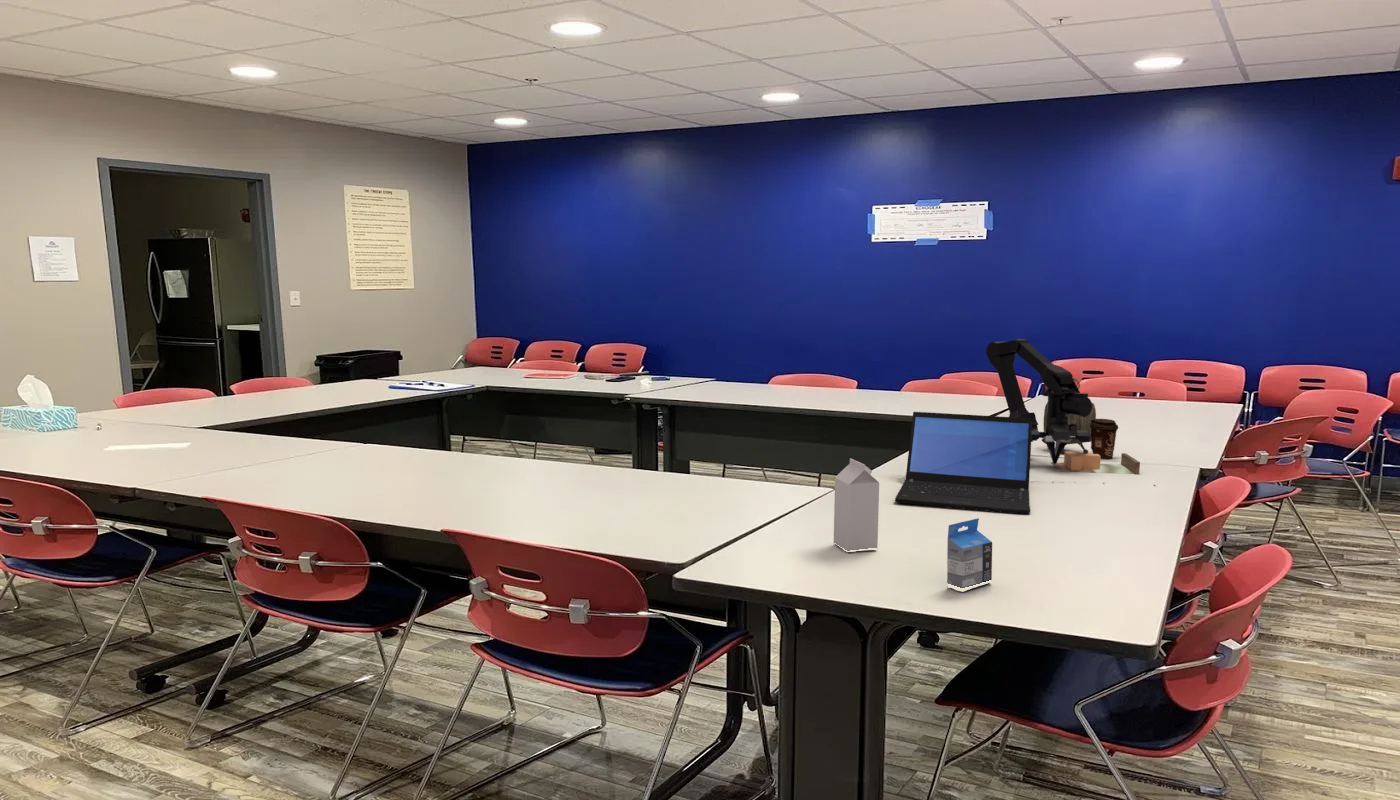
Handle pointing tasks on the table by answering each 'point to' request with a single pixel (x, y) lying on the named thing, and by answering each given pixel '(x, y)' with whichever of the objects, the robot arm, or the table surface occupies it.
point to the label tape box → (968, 555)
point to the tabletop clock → (1081, 422)
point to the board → (1108, 467)
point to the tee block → (1081, 461)
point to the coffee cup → (1103, 437)
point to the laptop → (968, 462)
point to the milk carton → (856, 508)
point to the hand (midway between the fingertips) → (1054, 463)
